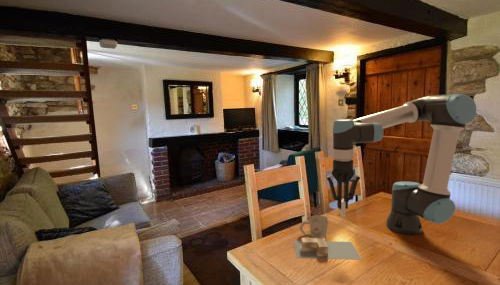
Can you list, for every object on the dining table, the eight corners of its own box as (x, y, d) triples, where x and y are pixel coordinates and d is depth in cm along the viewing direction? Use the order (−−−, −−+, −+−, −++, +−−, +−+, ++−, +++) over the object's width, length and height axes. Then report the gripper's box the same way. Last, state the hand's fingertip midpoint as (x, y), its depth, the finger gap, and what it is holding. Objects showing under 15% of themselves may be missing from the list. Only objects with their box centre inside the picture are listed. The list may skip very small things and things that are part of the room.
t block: (322, 243, 112) (323, 234, 111) (328, 256, 102) (328, 247, 101) (300, 242, 112) (300, 234, 112) (303, 255, 102) (303, 246, 102)
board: (351, 245, 112) (351, 241, 112) (361, 263, 99) (361, 259, 99) (293, 243, 114) (293, 240, 114) (296, 261, 101) (296, 257, 101)
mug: (328, 245, 112) (329, 224, 111) (299, 243, 115) (299, 221, 113) (326, 236, 120) (327, 215, 119) (299, 233, 123) (299, 214, 121)
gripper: (356, 156, 104) (355, 211, 107) (324, 157, 105) (324, 212, 108) (363, 160, 97) (362, 219, 100) (328, 161, 98) (328, 220, 101)
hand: (342, 215), depth 104 cm, fingers closed
